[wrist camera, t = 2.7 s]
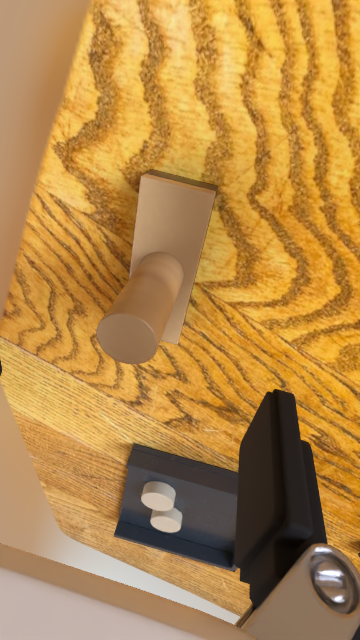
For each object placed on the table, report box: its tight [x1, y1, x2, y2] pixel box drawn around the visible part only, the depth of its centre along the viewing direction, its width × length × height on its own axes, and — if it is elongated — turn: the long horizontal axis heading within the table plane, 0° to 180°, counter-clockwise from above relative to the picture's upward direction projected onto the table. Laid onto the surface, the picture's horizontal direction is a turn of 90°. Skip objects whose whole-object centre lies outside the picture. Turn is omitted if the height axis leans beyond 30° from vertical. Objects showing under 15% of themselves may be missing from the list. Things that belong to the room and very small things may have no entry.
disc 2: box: [150, 507, 182, 533], centre depth 33 cm, size 3×3×1 cm
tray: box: [114, 444, 238, 572], centre depth 32 cm, size 14×15×2 cm
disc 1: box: [141, 481, 176, 511], centre depth 31 cm, size 3×3×1 cm
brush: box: [97, 169, 218, 364], centre depth 15 cm, size 4×9×8 cm, turn 169°
